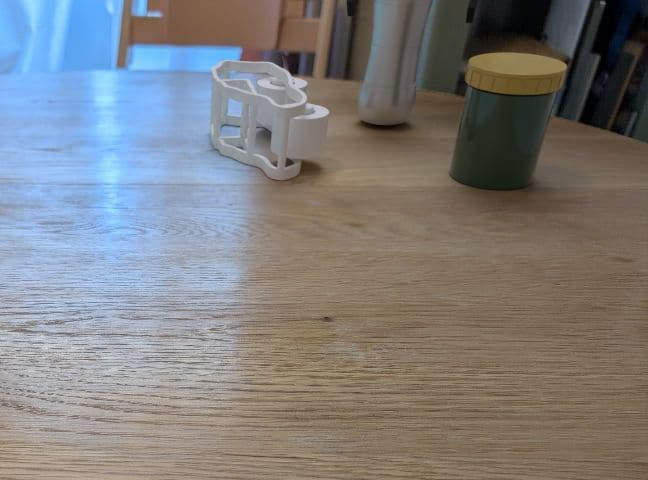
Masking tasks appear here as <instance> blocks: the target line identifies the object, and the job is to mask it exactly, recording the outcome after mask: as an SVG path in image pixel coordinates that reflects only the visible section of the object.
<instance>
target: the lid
mask: <svg viewBox="0 0 648 480" xmlns="http://www.w3.org/2000/svg"><path fill="white" fill-rule="evenodd" d="M466 65H467V66H466V69H465V70H466V71H465V75H464V81H465V83H466V84H469V85H470V86H473V87H475V88H478V89H481V90H485V91H489V92H495V93H502V94H513V95H538V94H547V93H551V92H555V91H557V92H558V91H559V90H560V89H562V87H564V83H565V80H566V77H567V71H568V65H567V64H566V63H565V62H564V61H562V60H559V59H556V58H554V57H550V56H545V55H540V54H534V53H525V52H524V53H523V52H488V53H482V54H478V55H474V56H472V57H470V59H469V60H468V63H467V64H466Z"/></svg>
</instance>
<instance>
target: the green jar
mask: <svg viewBox="0 0 648 480" xmlns="http://www.w3.org/2000/svg"><path fill="white" fill-rule="evenodd" d="M466 84H467V85H466V90H465V94H464V97H463V98H464V99H463V102H462V103H463V104H462V109H461V114H460V117H459V123H458V127H457V132H456V136H455V142H454V146H453V152H452V156H451V159H450V160H451V162H450V166H449V171H448V173H449V176H450V177H451V178H452V179H453V180H455V181H456V182H458V183H461V184H463V185H466V186H470V187H473V188H478V189H483V190H491V191H492V190H493V191H511V190H519V189H522V188H526V187H528V186H530V185H531V184H532V183H533V181H534V179H535V174H536V169H537V167H538V163H539V159H540V156H541V152H542V148H543V145H544V141H545V137H546V133H547V130H548V125H549V121H550V119H551V115H552V111H553V108H554V103H555V100H556V97H557V92H558V91H555V92H551V93H547V94H538V95H513V94H502V93H495V92H489V91H485V90H481V89H478V88H475V87H473V86H470V85H469V84H468V83H466Z"/></svg>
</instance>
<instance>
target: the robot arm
mask: <svg viewBox="0 0 648 480" xmlns="http://www.w3.org/2000/svg"><path fill="white" fill-rule="evenodd" d="M358 2H359V0H346V12H347V15H346V16H347V17H351V18H354V17H355V14H356V10H357V7H358ZM478 2H479V0H469V1H468V5H467V9H466V17H465V23H466V24H473V22H474V20H475V15H476V11H477V6H478V4H479V3H478Z"/></svg>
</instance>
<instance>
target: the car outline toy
mask: <svg viewBox="0 0 648 480" xmlns="http://www.w3.org/2000/svg"><path fill="white" fill-rule="evenodd" d="M231 72H233V73H234V72H235V73H246V74H247V73H248V74H268V75H270V77H263V78H261V79H259V80H257V82H256V83H257V84H256V88H255V86H254V85H253V83H252V81H251V79H249V78H230V77H231ZM221 76H222V79H221V78H220V77H221ZM210 79H211V98H210V119H209V138H210V141H211V145H212V147H213V148H214V149H215V150H217V151H218V152H219V153H220V155H221V156H225V157H229V158H231V159H234V160H235V161H238V162H240V163H242V164H245V165H249V166H252V167H257V168H260V169H261V170H262V171H263V172H264V174H265V176H266V177H268V178H269V179H271V180H272V179H273V180H275V181H287V180H290V179H293V178H295V177H297V176H298V175H299V174H300V172H301V168H302V160H303V159H304V160H305V159H314V158H317V157H320V156H322V155H324V153H325V150H326V145H327V135H328V127H329V119H330V110H329V108H327V107H324V106H322V105H319V104H314V103H309V102H307V101H308V96H307V93H308V81H306V80H305V79H302V78H298V77H294V76H292V75H291V73H290V71H288V70H286V69H285V68H283V67H281V66H279V65H278V64H276V63H274V62H272V61H247V60H246V61H243V60H236V59H224V60H221V61H218V62H217V65H212V66H211V72H210ZM229 100H234V101H237V102H238V103H241V111H240V112H241V115H239V114H232V113H229ZM225 125H227V126H235V127H239V130H240V131H239V135H231V136H230V135H229V136H227V135H226V136H222V135H221V133H222V126H225ZM257 128H264V129H266V130H268V131H269V132H270V133H271V140H270V152H272V154H274V155H276V156H277V162H276V163H277V164H276V166H275V165H273V164H272V163H271V162H270V160H269V159H268V158H267V157H265V156H264V155H262V154H258V153H255V151H256V149H255V148H256V135H257ZM287 159H288V160H290V161H291V162H292V163H293V164H291V165H288V166H286V164H287V163H286V161H287Z"/></svg>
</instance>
